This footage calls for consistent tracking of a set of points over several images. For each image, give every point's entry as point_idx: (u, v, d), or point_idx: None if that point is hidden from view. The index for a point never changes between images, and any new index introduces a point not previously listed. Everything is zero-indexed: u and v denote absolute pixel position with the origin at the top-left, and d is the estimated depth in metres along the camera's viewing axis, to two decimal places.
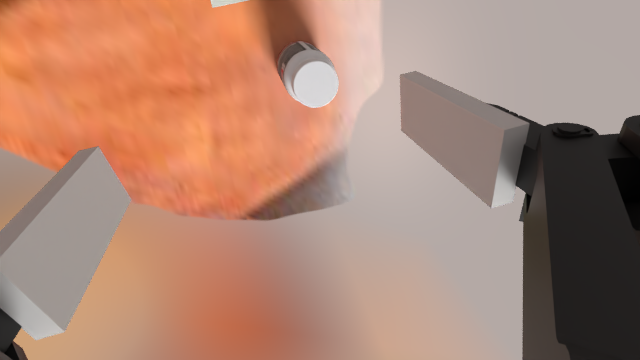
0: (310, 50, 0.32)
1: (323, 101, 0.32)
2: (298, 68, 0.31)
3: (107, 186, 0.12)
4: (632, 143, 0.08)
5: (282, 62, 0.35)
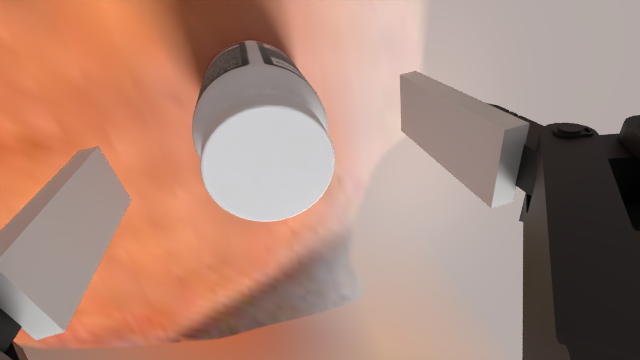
0: (258, 67, 0.12)
1: (293, 206, 0.12)
2: (213, 125, 0.10)
3: (107, 186, 0.12)
4: (632, 143, 0.08)
5: None
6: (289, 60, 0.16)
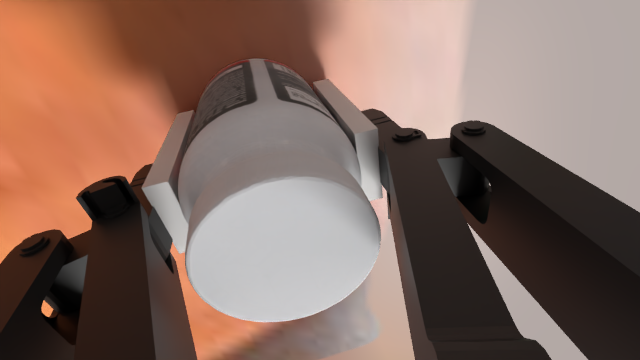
0: (270, 106, 0.08)
1: (319, 301, 0.08)
2: (204, 204, 0.07)
3: None
4: (461, 149, 0.09)
5: None
6: (306, 85, 0.12)
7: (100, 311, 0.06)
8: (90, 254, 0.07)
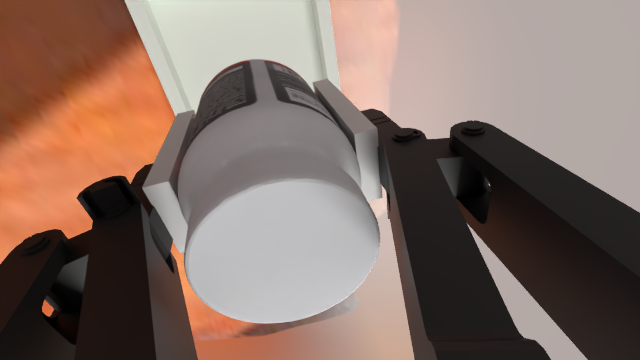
0: (270, 107, 0.08)
1: (318, 303, 0.08)
2: (203, 206, 0.07)
3: None
4: (460, 149, 0.09)
5: None
6: (306, 86, 0.12)
7: (100, 311, 0.06)
8: (91, 254, 0.07)
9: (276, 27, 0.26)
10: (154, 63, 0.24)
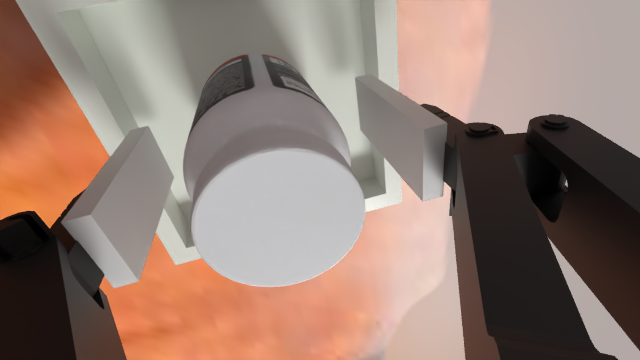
0: (266, 91, 0.09)
1: (311, 268, 0.09)
2: (207, 174, 0.08)
3: (157, 162, 0.14)
4: (538, 142, 0.08)
5: None
6: (301, 77, 0.13)
7: None
8: None
9: (301, 52, 0.16)
10: (92, 120, 0.13)
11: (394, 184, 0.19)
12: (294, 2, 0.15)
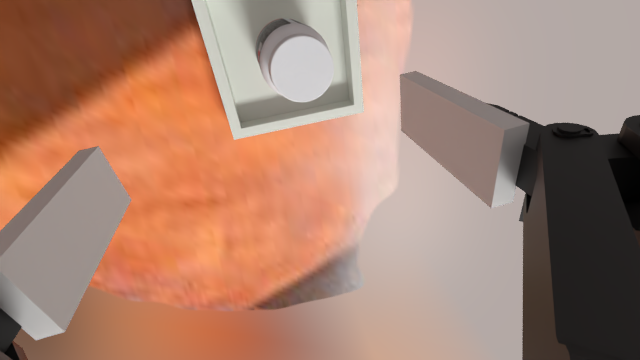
0: (296, 24, 0.24)
1: (312, 94, 0.24)
2: (277, 45, 0.22)
3: (107, 186, 0.12)
4: (632, 143, 0.08)
5: (260, 42, 0.26)
6: None
7: None
8: None
9: (309, 20, 0.30)
10: (207, 45, 0.28)
11: (359, 99, 0.33)
12: None
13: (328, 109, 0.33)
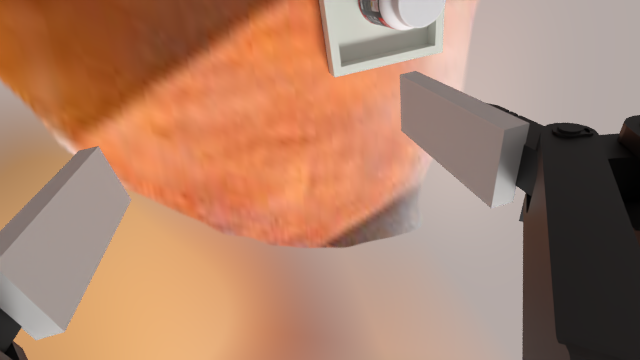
0: None
1: (427, 20, 0.29)
2: None
3: (107, 186, 0.12)
4: (632, 143, 0.08)
5: None
6: None
7: None
8: None
9: None
10: None
11: (439, 40, 0.38)
12: None
13: (413, 49, 0.38)
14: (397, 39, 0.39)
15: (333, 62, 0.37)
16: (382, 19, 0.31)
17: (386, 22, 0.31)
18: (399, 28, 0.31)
